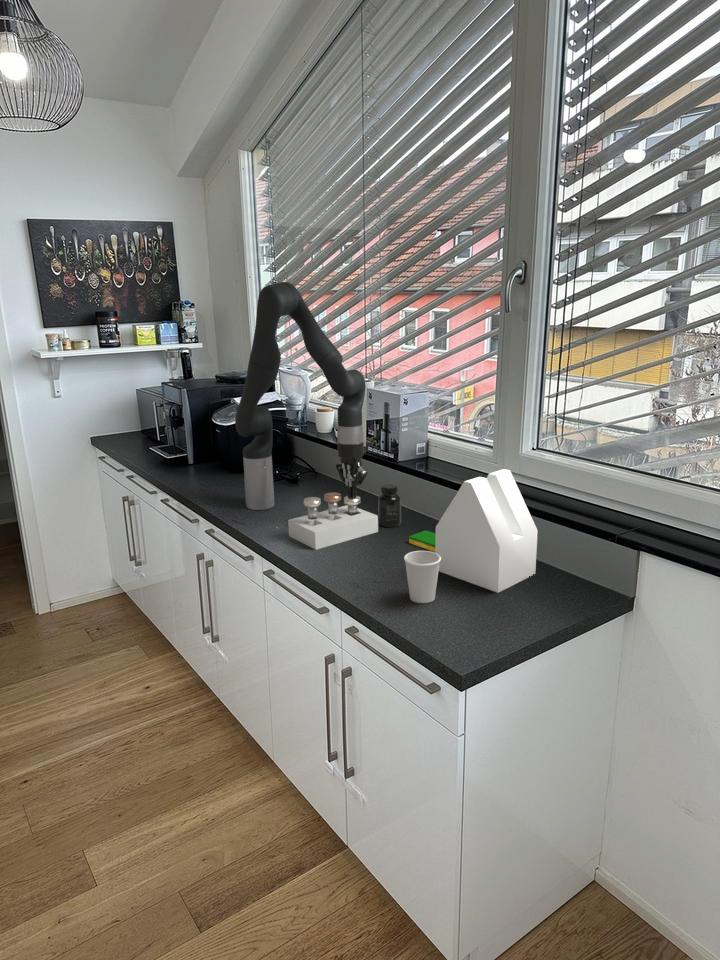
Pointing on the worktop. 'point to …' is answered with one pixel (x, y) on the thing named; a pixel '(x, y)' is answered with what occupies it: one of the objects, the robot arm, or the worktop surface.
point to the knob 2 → (352, 505)
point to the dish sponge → (424, 540)
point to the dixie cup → (422, 575)
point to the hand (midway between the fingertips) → (352, 497)
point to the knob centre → (332, 502)
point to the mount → (332, 527)
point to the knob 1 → (312, 506)
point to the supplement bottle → (389, 506)
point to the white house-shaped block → (488, 534)
